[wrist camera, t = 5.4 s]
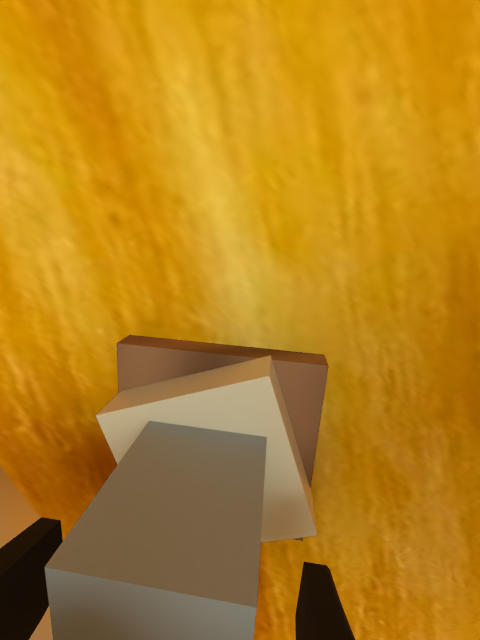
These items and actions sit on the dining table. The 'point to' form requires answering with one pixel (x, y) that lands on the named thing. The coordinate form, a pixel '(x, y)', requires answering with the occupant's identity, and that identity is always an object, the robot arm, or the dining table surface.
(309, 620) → the robot arm
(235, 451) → the block
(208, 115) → the dining table surface
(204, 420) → the slab upper
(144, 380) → the slab lower
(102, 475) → the dining table surface
